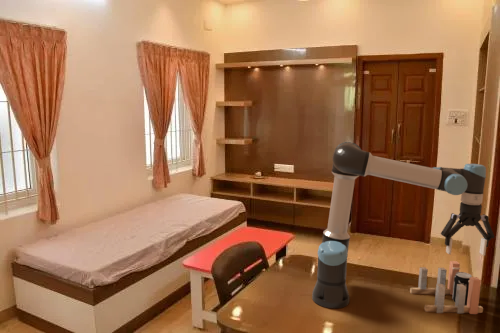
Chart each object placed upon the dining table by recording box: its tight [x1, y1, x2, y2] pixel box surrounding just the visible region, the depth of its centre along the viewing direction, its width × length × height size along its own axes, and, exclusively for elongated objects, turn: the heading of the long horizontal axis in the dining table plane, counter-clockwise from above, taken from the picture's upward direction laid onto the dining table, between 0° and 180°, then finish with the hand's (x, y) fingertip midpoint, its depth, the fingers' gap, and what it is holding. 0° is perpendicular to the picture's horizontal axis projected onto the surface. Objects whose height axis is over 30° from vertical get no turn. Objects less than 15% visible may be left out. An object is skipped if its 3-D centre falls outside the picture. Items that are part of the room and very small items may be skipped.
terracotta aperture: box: [447, 260, 482, 315], centre depth 160 cm, size 3×19×14 cm, turn 179°
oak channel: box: [409, 287, 484, 314], centre depth 161 cm, size 22×16×2 cm
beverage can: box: [452, 271, 473, 306], centre depth 160 cm, size 7×7×12 cm
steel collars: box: [417, 266, 466, 314], centre depth 161 cm, size 10×18×11 cm, turn 179°
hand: (465, 253), depth 158 cm, fingers open, 13 cm apart
